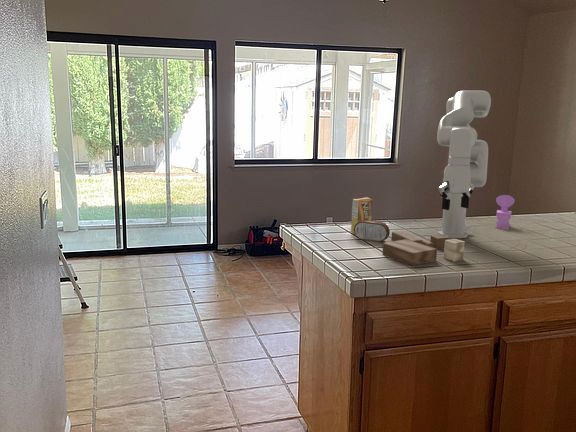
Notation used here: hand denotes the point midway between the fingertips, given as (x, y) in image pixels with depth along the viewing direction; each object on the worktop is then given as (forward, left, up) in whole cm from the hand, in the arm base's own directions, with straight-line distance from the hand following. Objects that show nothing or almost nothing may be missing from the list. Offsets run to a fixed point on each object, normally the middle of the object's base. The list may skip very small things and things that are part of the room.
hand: (455, 208), depth 200 cm
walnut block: (+14, -8, -20) cm, 25 cm away
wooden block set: (-4, -21, -20) cm, 29 cm away
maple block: (0, +1, -19) cm, 19 cm away
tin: (+10, -35, -19) cm, 41 cm away
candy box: (+5, -48, -19) cm, 52 cm away
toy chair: (-63, -26, -19) cm, 71 cm away
